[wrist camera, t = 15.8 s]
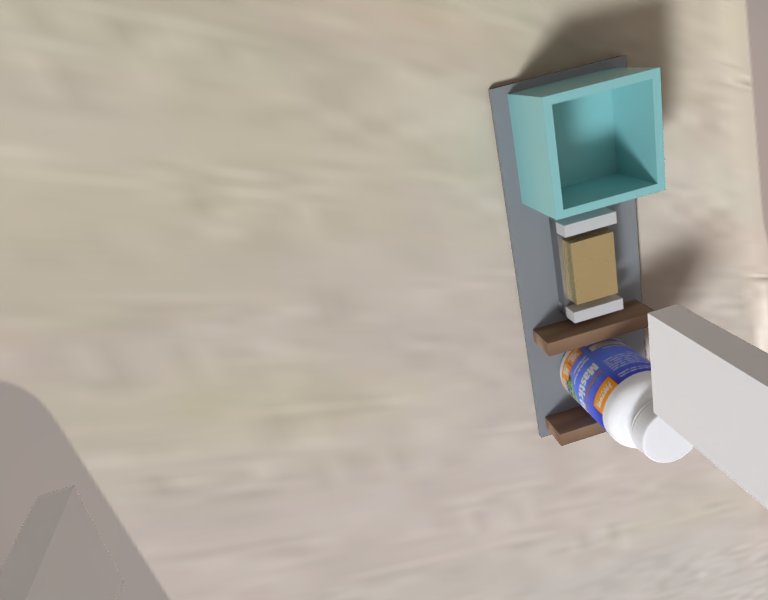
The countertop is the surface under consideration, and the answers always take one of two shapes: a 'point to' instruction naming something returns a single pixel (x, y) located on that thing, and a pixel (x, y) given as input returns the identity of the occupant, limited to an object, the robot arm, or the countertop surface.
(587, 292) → the pad
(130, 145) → the countertop surface
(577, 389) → the pill bottle
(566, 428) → the trough
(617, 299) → the cradle base
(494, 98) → the mat
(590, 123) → the teal open box
